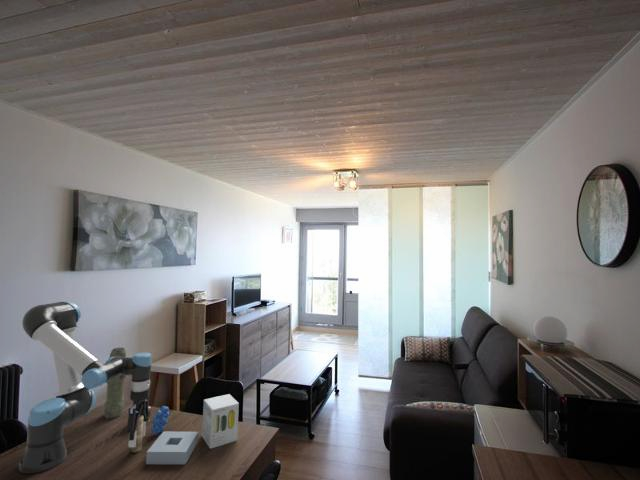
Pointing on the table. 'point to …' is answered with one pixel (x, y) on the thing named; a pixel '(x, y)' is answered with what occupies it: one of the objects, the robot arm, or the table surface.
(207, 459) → the table surface
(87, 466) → the table surface
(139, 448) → the peg
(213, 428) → the supplement box
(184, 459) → the socket block
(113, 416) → the thermos
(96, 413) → the table surface
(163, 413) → the grapes
